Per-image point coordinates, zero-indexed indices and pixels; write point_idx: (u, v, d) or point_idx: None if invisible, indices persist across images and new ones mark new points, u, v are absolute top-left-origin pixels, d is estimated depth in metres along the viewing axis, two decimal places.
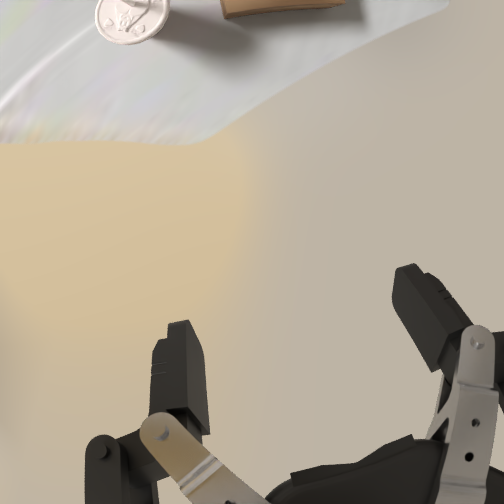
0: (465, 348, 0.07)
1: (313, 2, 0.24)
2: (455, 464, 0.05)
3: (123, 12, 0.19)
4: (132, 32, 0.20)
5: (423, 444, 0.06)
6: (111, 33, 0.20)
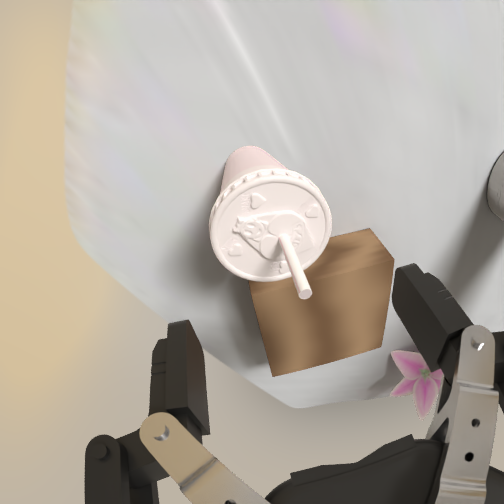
0: (465, 348, 0.07)
1: (269, 358, 0.30)
2: (455, 464, 0.05)
3: (270, 226, 0.16)
4: (229, 238, 0.16)
5: (423, 444, 0.06)
6: (234, 206, 0.15)
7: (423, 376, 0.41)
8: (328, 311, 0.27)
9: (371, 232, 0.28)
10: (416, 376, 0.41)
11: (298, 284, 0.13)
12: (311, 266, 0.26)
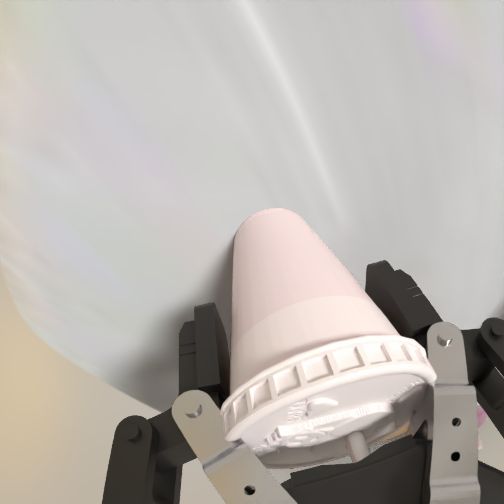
0: (433, 347, 0.08)
1: None
2: (442, 466, 0.05)
3: (337, 431, 0.07)
4: (258, 446, 0.08)
5: (405, 450, 0.06)
6: (273, 418, 0.07)
7: None
8: None
9: None
10: None
11: None
12: None
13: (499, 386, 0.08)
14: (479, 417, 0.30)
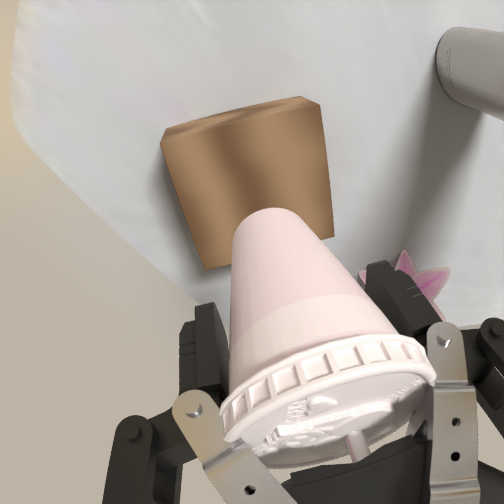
0: (432, 347, 0.08)
1: (195, 238, 0.27)
2: (442, 466, 0.05)
3: (336, 430, 0.07)
4: (257, 446, 0.08)
5: (405, 451, 0.06)
6: (272, 417, 0.07)
7: None
8: (252, 170, 0.24)
9: (300, 97, 0.25)
10: None
11: None
12: (228, 119, 0.23)
13: (499, 386, 0.08)
14: (433, 283, 0.35)
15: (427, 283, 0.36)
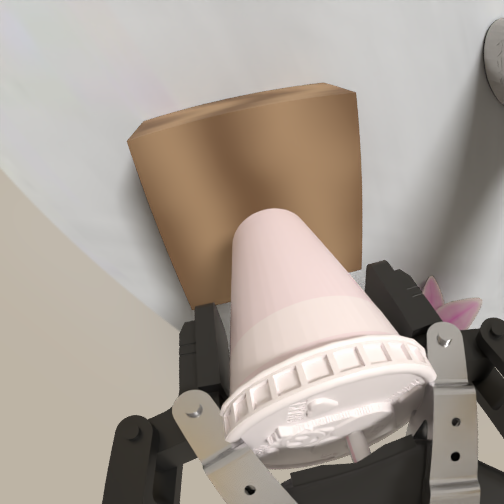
0: (432, 347, 0.08)
1: (178, 271, 0.20)
2: (442, 466, 0.05)
3: (337, 431, 0.07)
4: (258, 446, 0.08)
5: (405, 450, 0.06)
6: (273, 418, 0.07)
7: None
8: (258, 180, 0.17)
9: (325, 83, 0.18)
10: None
11: None
12: (225, 107, 0.16)
13: (499, 386, 0.08)
14: (462, 316, 0.28)
15: (456, 316, 0.29)
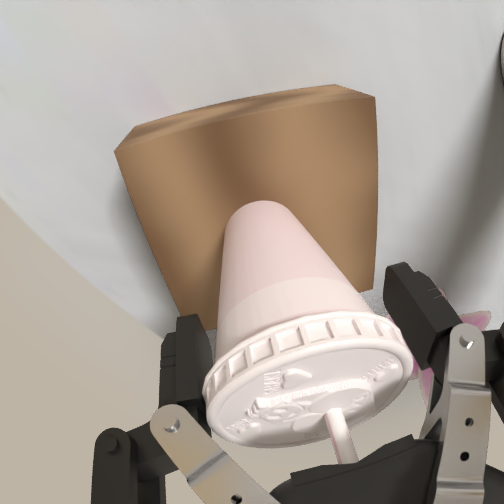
0: (454, 347, 0.08)
1: (174, 294, 0.18)
2: (451, 464, 0.05)
3: (314, 406, 0.08)
4: (240, 420, 0.08)
5: (417, 446, 0.06)
6: (250, 388, 0.07)
7: None
8: (263, 196, 0.15)
9: (337, 85, 0.16)
10: None
11: None
12: (227, 112, 0.14)
13: None
14: None
15: None
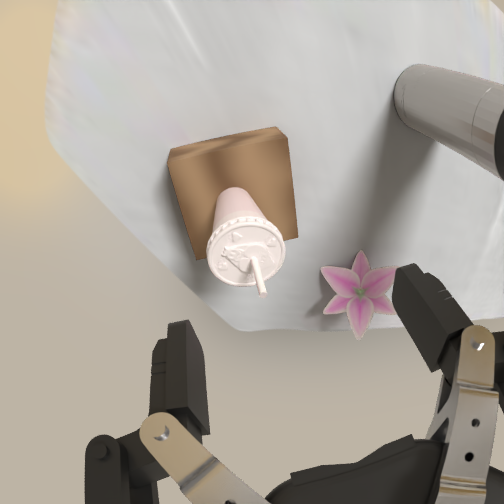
0: (465, 348, 0.07)
1: (189, 235, 0.35)
2: (455, 464, 0.05)
3: (245, 252, 0.25)
4: (219, 259, 0.26)
5: (423, 444, 0.06)
6: (222, 240, 0.25)
7: (359, 296, 0.47)
8: (234, 185, 0.33)
9: (276, 128, 0.34)
10: (350, 294, 0.46)
11: (259, 289, 0.23)
12: (218, 145, 0.32)
13: None
14: (385, 279, 0.44)
15: (380, 279, 0.44)
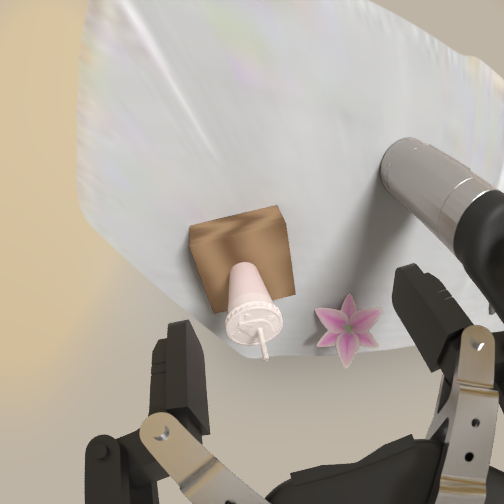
0: (465, 348, 0.07)
1: (208, 296, 0.44)
2: (455, 464, 0.05)
3: (253, 325, 0.34)
4: (234, 330, 0.35)
5: (423, 444, 0.06)
6: (237, 318, 0.34)
7: (347, 331, 0.55)
8: (243, 260, 0.41)
9: (277, 207, 0.43)
10: (339, 330, 0.55)
11: (263, 356, 0.32)
12: (230, 229, 0.41)
13: None
14: (369, 318, 0.52)
15: (364, 318, 0.53)
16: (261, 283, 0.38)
